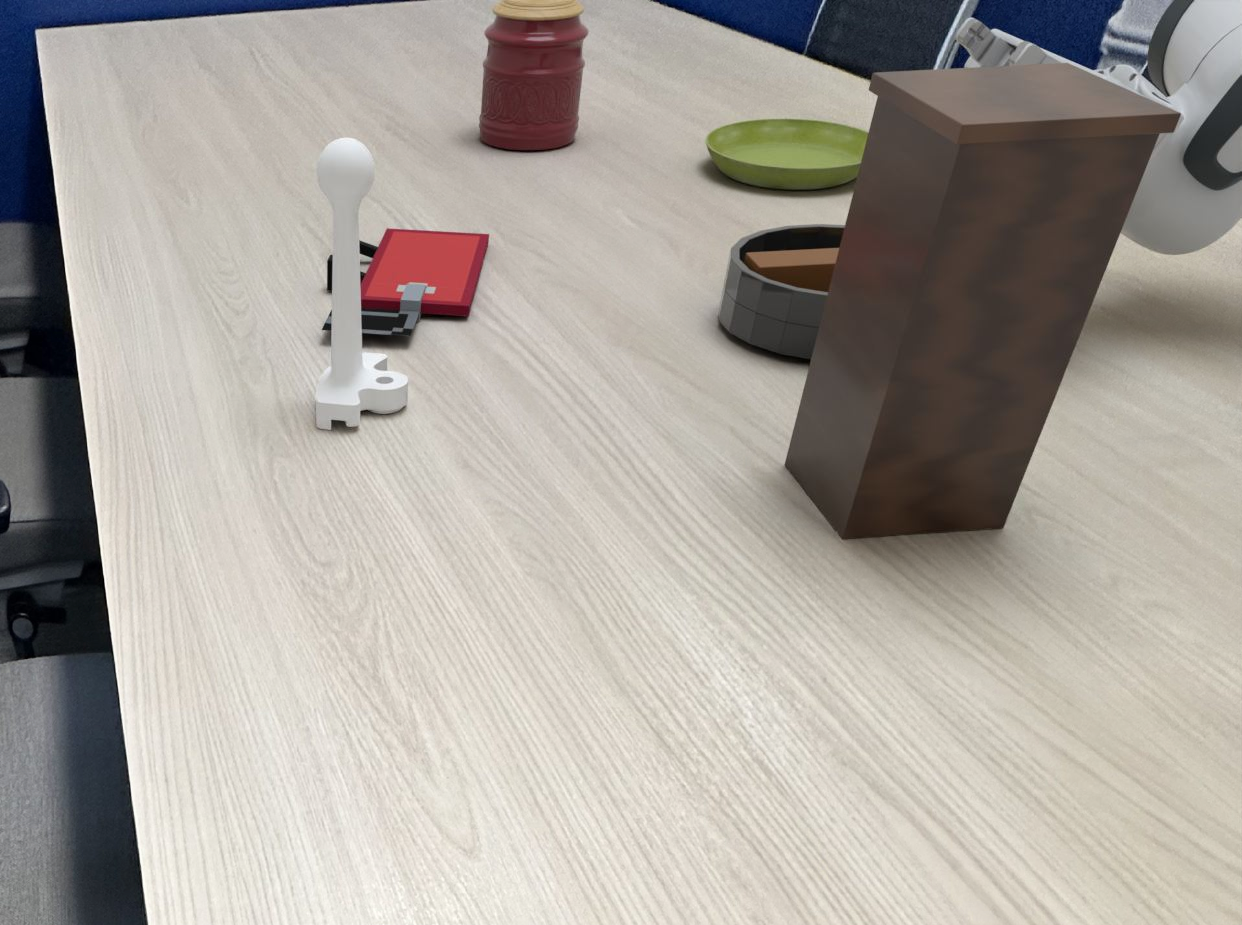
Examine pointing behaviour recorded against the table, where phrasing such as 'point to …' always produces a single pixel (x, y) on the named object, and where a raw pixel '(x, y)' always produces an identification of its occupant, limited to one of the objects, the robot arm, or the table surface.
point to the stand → (963, 289)
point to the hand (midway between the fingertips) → (990, 39)
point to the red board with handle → (416, 278)
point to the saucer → (788, 152)
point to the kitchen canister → (532, 74)
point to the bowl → (775, 292)
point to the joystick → (351, 299)
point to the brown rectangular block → (796, 267)
